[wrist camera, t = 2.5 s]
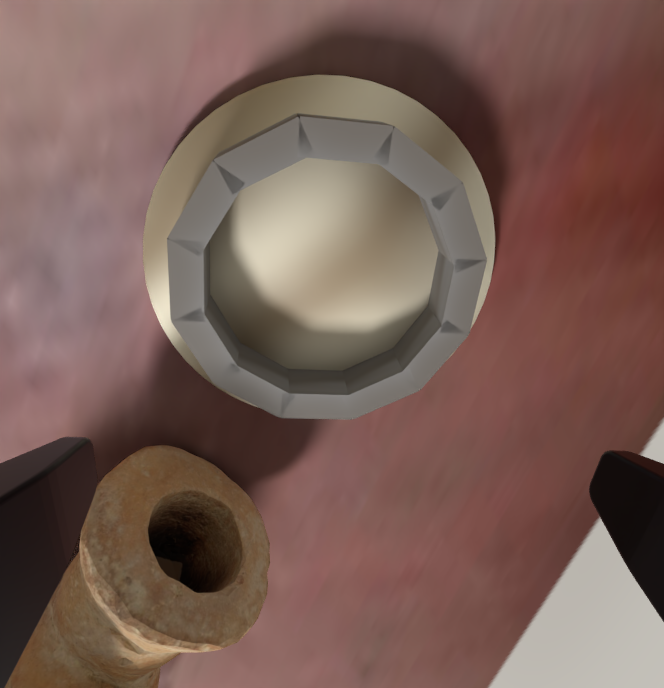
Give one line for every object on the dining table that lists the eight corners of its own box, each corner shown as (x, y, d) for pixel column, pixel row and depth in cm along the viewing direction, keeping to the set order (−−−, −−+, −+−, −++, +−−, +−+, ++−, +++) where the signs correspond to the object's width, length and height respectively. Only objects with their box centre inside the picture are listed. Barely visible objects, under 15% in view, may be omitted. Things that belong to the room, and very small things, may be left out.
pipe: (291, 487, 26) (302, 693, 17) (144, 661, 31) (94, 888, 22) (126, 410, 23) (35, 614, 14) (-7, 617, 28) (-135, 861, 19)
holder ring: (84, 313, 21) (61, 342, 18) (271, -23, 16) (271, -41, 14) (356, 453, 25) (365, 489, 23) (557, 222, 21) (592, 239, 19)
